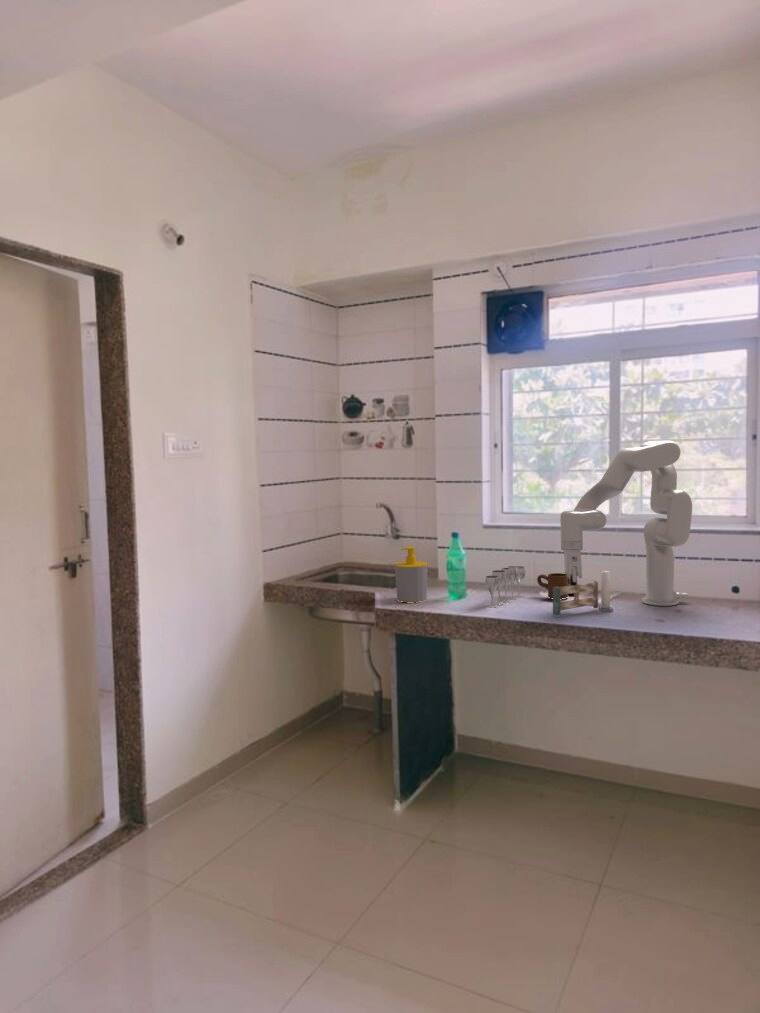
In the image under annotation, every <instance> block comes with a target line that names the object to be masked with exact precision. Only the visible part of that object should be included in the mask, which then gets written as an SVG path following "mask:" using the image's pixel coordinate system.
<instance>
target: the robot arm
mask: <svg viewBox="0 0 760 1013" xmlns="http://www.w3.org/2000/svg"><path fill="white" fill-rule="evenodd" d="M680 457H681V448H680V446H679V445H678V444H677V443H676V442H674V441H672V440H651V441H646V442H644V443H642V444H641V445H640V446H639V447H626V448H622V449H620V450H619V451H618V452H617V453H616V455H615V456H614V458H613V460H612V461H611V463H610V464H609V466H608V468H607V469H606V471H605V472H604V474H603V475H602V477H601V479H600V480H599V481H598V482H597V483H596V484H594V485H593V486H592V487H591V488H589V490H587V492H585V493H584V495H583V496H581V497H580V500H579V501H578V502H577V504H576V506H575V507H574V509H573V510H565V511H564V510H563V511H562V512H561V513H560V520H559V521H560V550H561V551H564V552H563V553H564V555H563V556H564V557H563V558H564V561H563V562H564V574H566V576H567V577H568V586H570V585H577V584H578V578H579V579H582V578H583V568H582V554H581V551H583V550H584V541H583V540H584V539H583V534H584V533H583V531H590V532H591V531H592V532H597V531H600V530H602V529H603V528H604V527H605V526H606V524H607V517H606V515H605V513H604V512H602V511H601V510H599V509H598V508H599V507H600V505H602V504H603V503H605V502H606V501H608V500H610V499H612V498H613V499H614V498H615V497H617V496H619V495H620V494H621V493H623V491H624V490H625V488H626V486H627V484H628V483H629V481H630V479H631V478H632V476H633V475H634V474H635V473H636V472H638V473H639V472H640V473H642V472H648V471H650V473H651V489H650V500H649V506H650V509H651V511H653V513H655V514H657V515H664V516H666V517H665V518H664V517H654V518H651V519H648V521H646V523H645V524H644V527H643V539H644V544H645V552H646V553H645V554H646V555H645V556H646V557H645V564H646V566H645V572H646V574H645V576H646V577H645V578H646V579H645V585H646V586H645V590H646V591H645V596H644V597H641V602H642V603H644V604H646V605H650V606H659V607H667V606H670V607H671V606H677V605H678V604H679V599H688V598H689V595H688V592H681V591H680V592H678V591H676V590H675V580H674V579H675V577H674V576H675V573H674V572H675V554H674V549H673V547H682V546H684V545H685V544H686V543H687V542H688V540H689V537H690V533H691V524H692V516H693V502H692V501H693V500H692V498H691V496H690V495H689V493H687V492H686V491H685V490H682V489H677V488H678V487H677V486H678V484H677V481H678V476H677V474H678V473H677V469H676V467H675V465H674V464H675V463H676V462H678V461H679V459H680ZM568 598H574V593H570V594H568Z"/></svg>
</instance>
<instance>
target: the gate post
mask: <svg viewBox="0 0 760 1013" xmlns="http://www.w3.org/2000/svg"><path fill="white" fill-rule="evenodd" d="M600 574H601V575H600V580H601V581H600V582H601V583H600V584H601V585H600V586H601V587H600V592H601V593H600V594H601V598H600V599H601V600H600V602H601V605H598V610H599V609H600V610H599V612H601V613H613V612H614V609H613V607H612V606H611V571H609V570H601V572H600Z"/></svg>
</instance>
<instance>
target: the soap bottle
mask: <svg viewBox="0 0 760 1013" xmlns="http://www.w3.org/2000/svg"><path fill="white" fill-rule="evenodd" d="M414 550H416V547H414V546H408V547H407V546H406V547H404V548H402V549H401V551H407V555H406V556H405V561H399V562H396V563H395V564H394V575H395V577H394V578H395V587H396V588H395V589H396V597H397V599H398V600H399V601H403V602H419V601H424V600H426V601H427V596H428V595H427V593H428V563H427V562H426V561H420V560H419V561H417V557H416V555H414ZM397 599H396V600H397Z"/></svg>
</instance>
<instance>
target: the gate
mask: <svg viewBox="0 0 760 1013" xmlns="http://www.w3.org/2000/svg"><path fill="white" fill-rule="evenodd" d="M588 591H592V592H593V594H592V595H593V596H590V597H585V598H583V597H582V598H580V593H582V592H583V593H584V592H588ZM570 593H574V597H573V599H572V600H566V601H565V600H564V601H561V600H560V595H564V594H570ZM589 606H593V609H599V581H598V580H594V581H590V582H585V583H579V584H578V583H577V585H570V586H564V587H553V600H552V615H554V616H559V615H562V614H561V611H565V610H570V609H577V608H583V607H589Z"/></svg>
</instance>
